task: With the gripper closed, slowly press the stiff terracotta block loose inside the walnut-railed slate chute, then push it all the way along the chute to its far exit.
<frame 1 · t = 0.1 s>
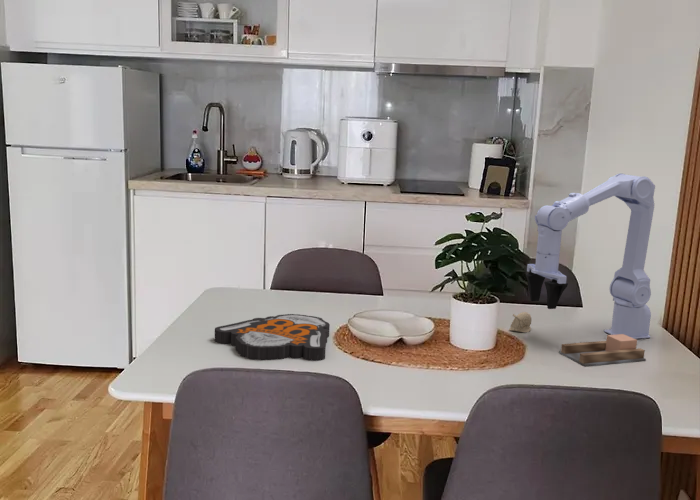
hand: (543, 304, 184), 10 cm above the table, tool pointing down, fingers open, 7 cm apart
decorative ornament: (519, 331, 195), on the table
decorative emblem: (282, 343, 176), on the table
walnut chute: (601, 356, 176), on the table
jammed block: (621, 345, 177), point 3 cm above the table, slide at 0.0 cm
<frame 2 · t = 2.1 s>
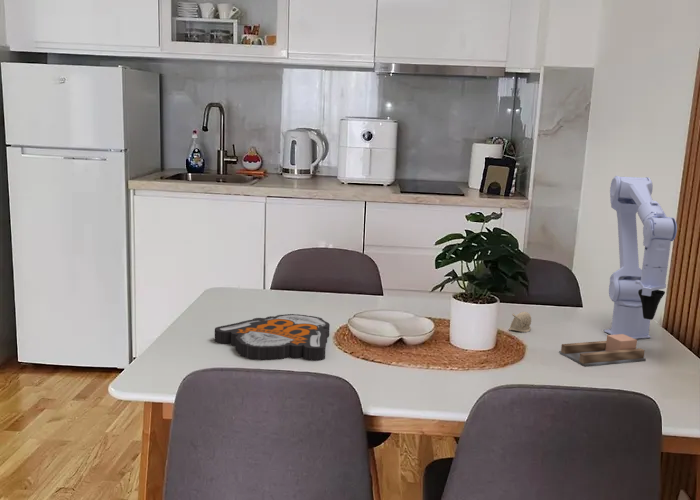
hand: (648, 318, 178), 9 cm above the table, tool pointing down, fingers closed
nothing on the table moved.
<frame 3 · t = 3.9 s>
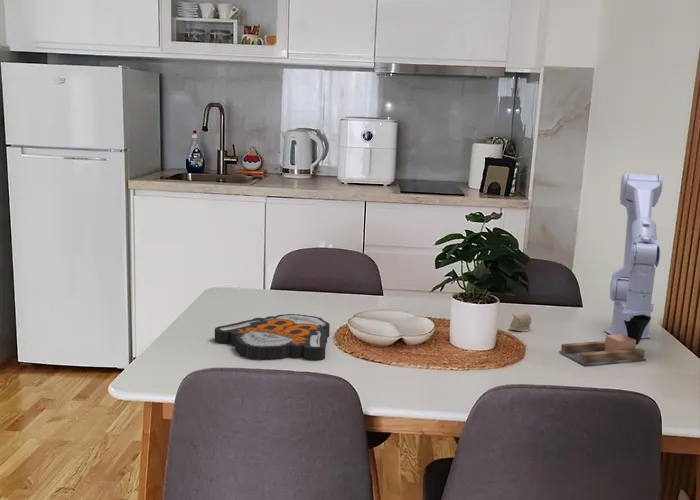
hand: (633, 343, 178), 3 cm above the table, tool pointing down, fingers closed
jammed block: (620, 345, 177), point 3 cm above the table, slide at 0.3 cm, touching gripper
everything else where it was.
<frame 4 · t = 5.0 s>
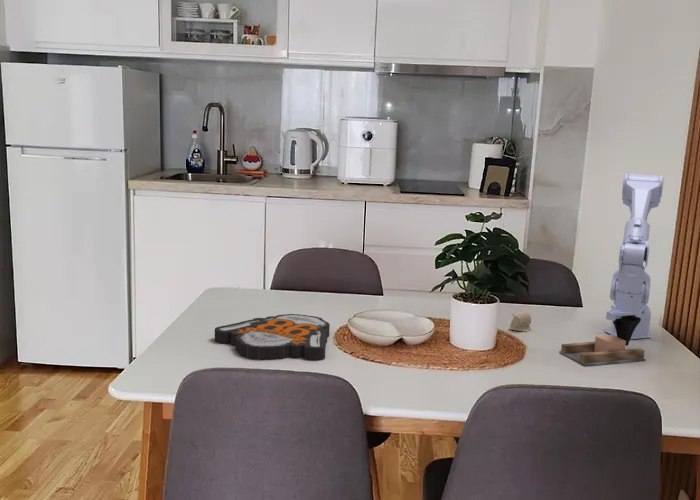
hand: (622, 344, 177), 3 cm above the table, tool pointing down, fingers closed
jammed block: (609, 346, 176), point 3 cm above the table, slide at 3.4 cm, touching gripper
everything else where it was.
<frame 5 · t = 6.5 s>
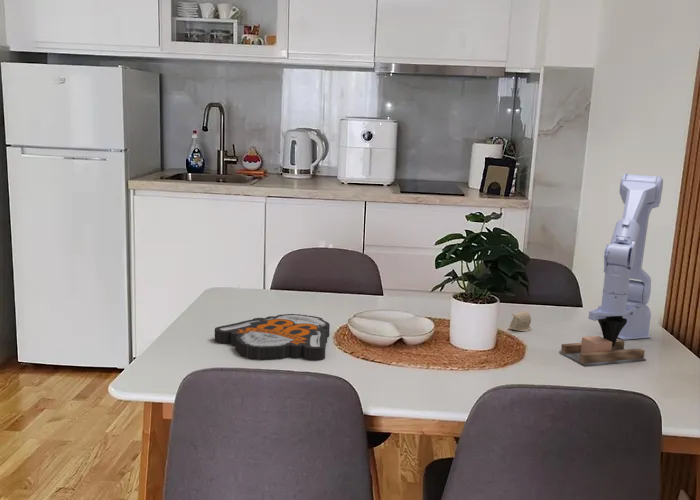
hand: (609, 345, 176), 3 cm above the table, tool pointing down, fingers closed
jammed block: (596, 347, 174), point 3 cm above the table, slide at 7.6 cm, touching gripper
everything else where it was.
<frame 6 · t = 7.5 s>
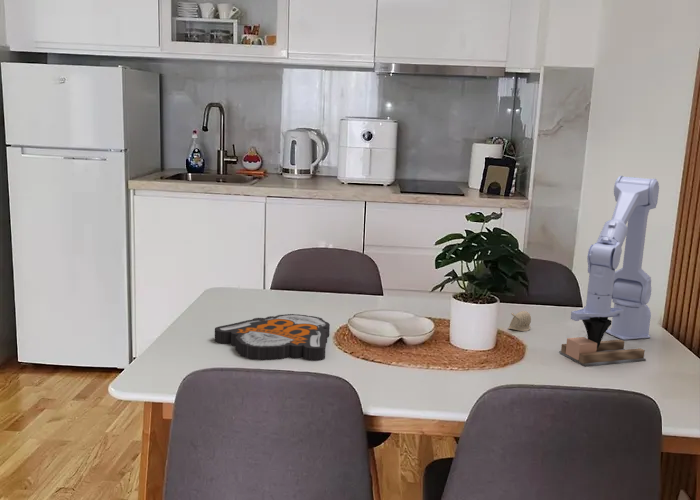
hand: (593, 346, 174), 3 cm above the table, tool pointing down, fingers closed
jammed block: (581, 348, 173), point 3 cm above the table, slide at 12.0 cm, touching gripper
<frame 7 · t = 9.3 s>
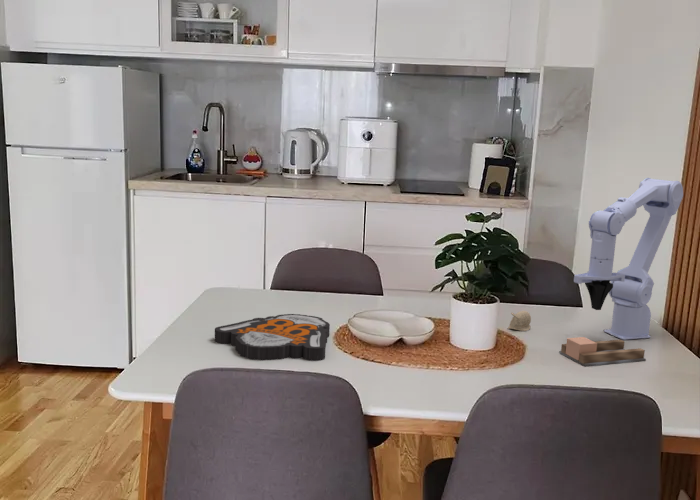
hand: (596, 309, 185), 9 cm above the table, tool pointing down, fingers closed
jammed block: (581, 348, 173), point 3 cm above the table, slide at 12.0 cm
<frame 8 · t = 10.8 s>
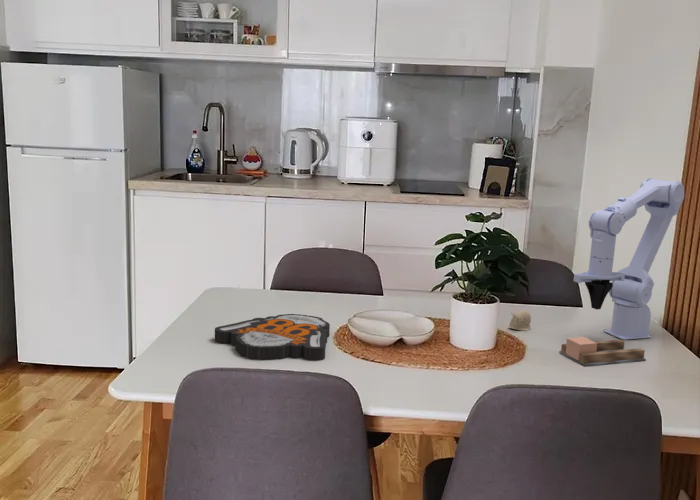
hand: (596, 308, 185), 9 cm above the table, tool pointing down, fingers closed
at the end: jammed block slide at 12.0 cm; decorative ornament moved 1.7 cm from its start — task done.
